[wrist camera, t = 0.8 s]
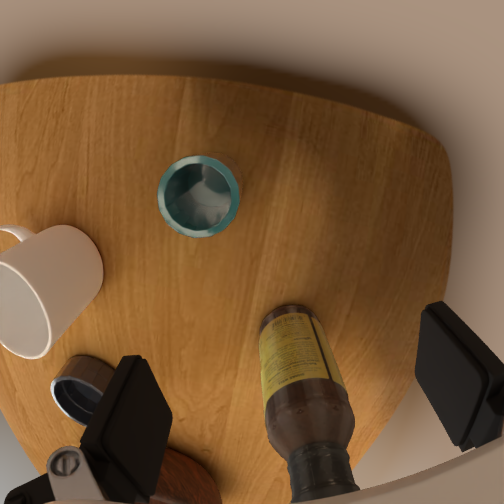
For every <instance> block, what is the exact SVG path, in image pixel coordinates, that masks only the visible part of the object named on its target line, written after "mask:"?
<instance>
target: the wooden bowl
mask: <svg viewBox="0 0 504 504" xmlns="http://www.w3.org/2000/svg"><path fill="white" fill-rule="evenodd" d="M134 504H148V503H139V502H134ZM149 504H222V499H221V496H220V493H219V490H218V488H217V486H216V484H215V482H214V480H213V479H212V477H211V476H210V474H209V473H208V472H207V471H206V470H205V469H204V468H203V467H202V466H200V465H199V464H198V463H197V462H195V461H194V460H192V459H191V458H189V457H187V456H185V455H183V454H181V453H179V452H177V451H175V450H172V449H170V448H167V447H166V449H165V453H164V457H163V461H162V466H161V470H160V474H159V479H158V483H157V487H156V492H155V494H154V495H153V496H150V500H149Z"/></svg>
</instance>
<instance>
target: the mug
mask: <svg viewBox="0 0 504 504" xmlns="http://www.w3.org/2000/svg"><path fill="white" fill-rule="evenodd" d="M0 230H4V231H8V232H11V233H12V234H14V235H15V236H16V237H17V238H18V239H19V240H20V241H21V242H20V243H19V244H17V245H15V246H13V247H11V248H10V249H8V250H6V251H4V252H2V253H1V254H0V343H1V344H2V345H3V346H4V347H6V348H7V349H8V350H9V351H11V352H12V353H14V354H16V355H18V356H20V357H23V358H27V359H38V358H41V357H43V356H44V355H45V354H46V353H47V352H48V351H49V350H50V349H51V347H52V346H53V345H54V344H55V343H56V341H57V340H58V339H59V338H60V337H61V336H62V334H63V333H64V332H65V331H66V330H67V329H68V327H69V326H70V325H71V324H72V323H73V322H74V320H75V319H76V318H77V317H78V316H79V315H80V314H81V313H82V311H83V310H84V309H85V308H86V307H87V306H88V305H89V304H90V303H91V301H92V300H93V299H94V298H95V297H96V295H97V294H98V292H99V290H100V288H101V285H102V282H103V264H102V260H101V257H100V254H99V252H98V249H97V248H96V246H95V244H94V243H93V242H92V240H91V239H90V238H89V237H88V236H87V235H86V234H85V233H83V232H82V231H81V230H79V229H77V228H75V227H72V226H69V225H56V226H53V227H50V228H47V229H45V230H43V231H41V232H39V233H37V234H35V233H34V232H32V231H30V230H29V229H27V228H25V227H22V226H18V225H10V224H8V225H0Z"/></svg>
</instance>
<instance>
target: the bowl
mask: <svg viewBox="0 0 504 504" xmlns="http://www.w3.org/2000/svg"><path fill="white" fill-rule="evenodd" d="M114 372H115V370H114V369H113V368H111V367H110V366H109V365H107V364H106V363H104V362H102V361H100V360H98V359H95V358H92V357H88V356H77V357H72V358H70V359H69V360H67V361H66V363H65V364H64V366H63V367H62V368H61V370H60V371H59V373H58V374H57V375H56V377H55V378H54V380H53V382H52V384H51V393H52V396H53V398H54V400H55V402H56V403H57V405H58V406H59V408H60V409H61V410H62V411H63V412H64V413H65V414H66V415H67V416H68V417H70V418H71V419H73V420H74V421H76V422H77V423H79V424H81V425H83V426H85V427H87V425H88V423H89V421H90V419H91V417H92V415H93V413H94V411H95V409H96V407H97V405H98V403H99V401H100V399H101V397H102V395H103V393H104V391H105V389H106V387H107V385H108V383H109V382H110V380H111V378H112V376H113V374H114Z"/></svg>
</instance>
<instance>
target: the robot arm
mask: <svg viewBox="0 0 504 504" xmlns="http://www.w3.org/2000/svg"><path fill="white" fill-rule="evenodd" d="M415 376H416V379H417V381H418V383H419V384H420V386H421V388H422V389H423V391H424V393H425V394H426V396H427V398H428V400H429V401H430V403H431V405H432V407H433V408H434V410H435V412H436V414H437V415H438V417H439V419H440V421H441V423H442V424H443V426H444V428H445V430H446V432H447V434H448V435H449V437H450V439H451V441H452V443H453V444H454V445H455V446H459V447H460V449H461V451H462V452H464V451H466V450H468V449H471V448H472V447H475V448H476V449H474V450H472V451H470V452H468V453H466V454H464V455H461V456H459V457H457V458H454V459H452V460H449V461H447V462H444V463H442V464H440V465H437V466H435V467H432V468H430V469H427V470H425V471H421V472H419V473H416V474H413V475H410V476H407V477H404V478H401V479H398V480H395V481H392V482H389V483H386V484H382V485H378V486H375V487H371V488H367V489H363V490H359V491H355V492H351V493H347V494H342V495H338V496H333V497H328V498H322V499H317V500H311V501H305V502H298V503H291V504H504V364H503V363H502V362H501V361H500V359H499V358H498V357H497V356H496V355H495V354H494V353H493V352H492V351H491V350H490V349H489V347H488V346H487V345H486V344H485V343H484V342H483V341H482V340H481V339H480V338H479V337H478V336H477V335H476V334H475V333H474V332H473V331H472V330H471V329H470V328H469V327H468V326H467V325H466V324H465V323H464V322H463V321H462V320H461V319H460V318H459V317H458V316H457V315H456V314H455V313H454V312H453V311H452V310H451V309H450V308H449V307H448V306H447V305H446V304H445V303H444V302H443V301H439V302H435V303H432V304H428V305H426V307H425V310H423V311H422V313H421V322H420V333H419V342H418V350H417V358H416V365H415ZM172 420H173V417H172V412H171V410H170V408H169V406H168V404H167V402H166V400H165V398H164V396H163V394H162V392H161V390H160V388H159V386H158V383H157V381H156V379H155V377H154V375H153V373H152V371H151V368H150V366H149V364H148V362H147V360H146V359H142V357H141V356H140V355H130V356H123V357H122V359H121V361H120V363H119V364H118V366H117V368H116V370H115V372H114V374H113V376H112V378H111V380H110V382H109V383H108V385H107V387H106V389H105V391H104V393H103V395H102V397H101V399H100V401H99V403H98V405H97V407H96V409H95V411H94V413H93V415H92V417H91V419H90V421H89V423H88V425H87V427H86V429H85V431H84V433H83V436H82V438H81V440H80V443H81V445H80V447H79V448H77V447H74V446H65V447H61V448H59V449H58V450H56V451H54V452H53V453H52V454H51V456H50V457H49V459H48V461H47V465H46V467H47V473H46V474H44V475H42V476H40V477H38V478H36V479H34V480H31V481H29V482H27V483H25V484H23V485H21V486H19V487H17V488H15V489H13V490H12V491H10V492H9V493H8V495H7V497H6V498H5V501H4V504H134V502H139V503H148V504H149V500H150V496H153V495H154V494H155V492H156V487H157V483H158V479H159V474H160V470H161V466H162V461H163V457H164V453H165V449H166V445H167V441H168V437H169V433H170V429H171V425H172Z"/></svg>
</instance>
